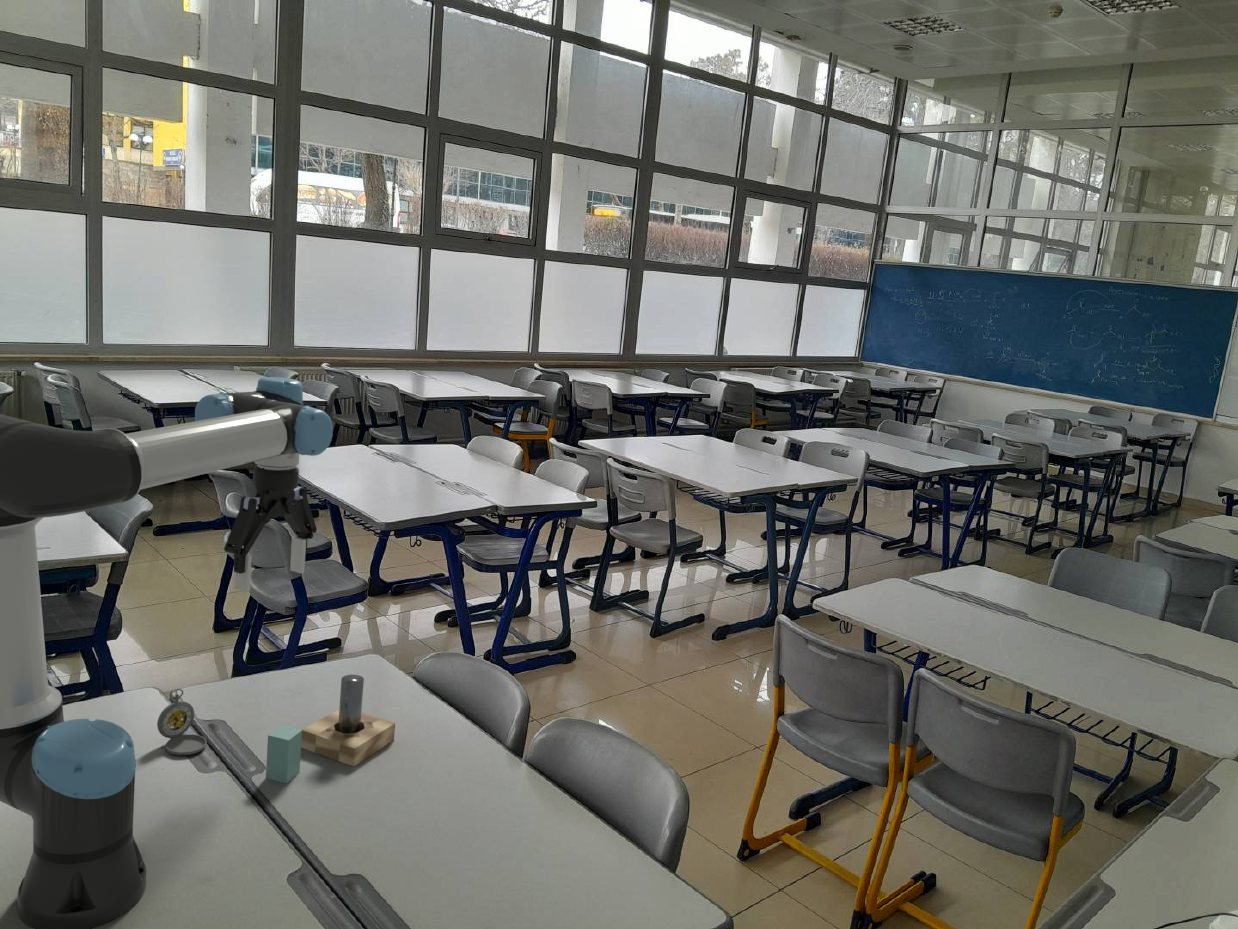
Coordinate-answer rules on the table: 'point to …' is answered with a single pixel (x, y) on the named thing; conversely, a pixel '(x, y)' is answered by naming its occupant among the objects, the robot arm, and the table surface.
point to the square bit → (283, 754)
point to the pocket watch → (179, 728)
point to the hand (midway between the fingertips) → (270, 580)
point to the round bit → (350, 704)
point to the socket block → (347, 738)
